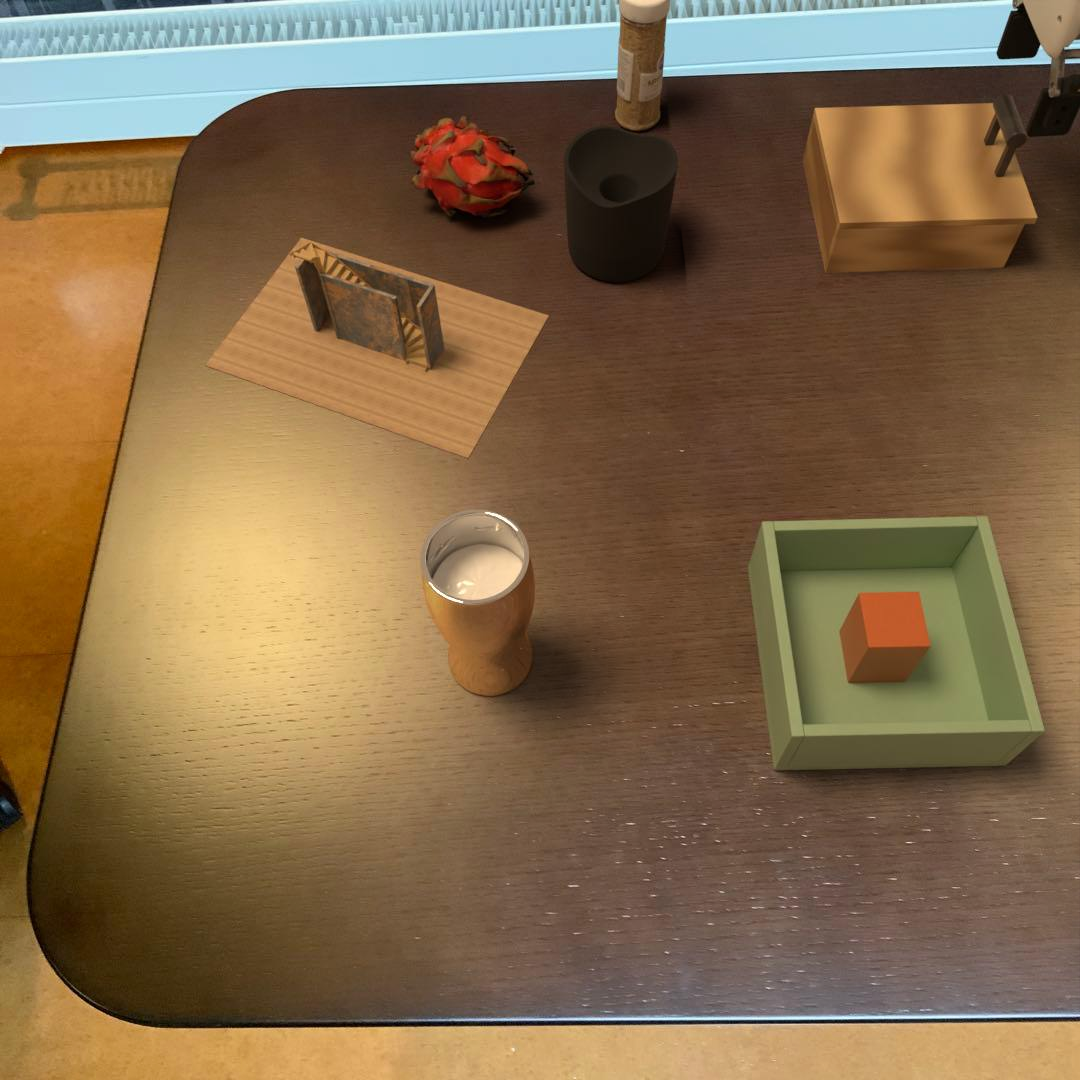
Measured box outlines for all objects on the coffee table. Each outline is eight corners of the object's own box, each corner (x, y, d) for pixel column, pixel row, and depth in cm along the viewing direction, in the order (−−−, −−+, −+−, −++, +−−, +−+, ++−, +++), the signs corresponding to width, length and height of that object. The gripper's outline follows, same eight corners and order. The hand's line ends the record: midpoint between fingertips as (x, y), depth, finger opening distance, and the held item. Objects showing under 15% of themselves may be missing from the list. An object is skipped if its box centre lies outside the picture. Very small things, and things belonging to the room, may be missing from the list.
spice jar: (659, 133, 103) (671, 4, 91) (613, 132, 103) (618, 3, 92) (660, 103, 105) (671, -27, 94) (614, 102, 106) (620, -28, 94)
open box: (956, 563, 78) (987, 515, 72) (1005, 765, 71) (1045, 731, 65) (747, 567, 79) (761, 520, 73) (773, 770, 71) (791, 736, 65)
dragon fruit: (412, 192, 102) (527, 233, 101) (383, 201, 94) (507, 245, 94) (434, 101, 98) (554, 143, 98) (405, 103, 91) (534, 149, 90)
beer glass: (427, 684, 74) (397, 586, 62) (464, 601, 78) (443, 492, 65) (518, 715, 73) (508, 622, 60) (552, 630, 76) (549, 524, 63)
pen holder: (631, 199, 99) (637, 108, 90) (688, 261, 94) (700, 172, 86) (545, 237, 96) (542, 148, 88) (599, 303, 92) (602, 215, 84)
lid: (994, 109, 95) (1016, 56, 90) (1034, 224, 88) (1060, 173, 83) (813, 114, 95) (825, 61, 91) (838, 229, 88) (853, 178, 83)
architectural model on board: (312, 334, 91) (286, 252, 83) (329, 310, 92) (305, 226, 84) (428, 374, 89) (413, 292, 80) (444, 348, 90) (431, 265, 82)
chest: (964, 161, 100) (985, 109, 95) (1000, 274, 93) (1025, 224, 88) (800, 166, 100) (813, 114, 95) (823, 279, 93) (838, 229, 88)
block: (895, 629, 75) (919, 591, 70) (905, 682, 73) (931, 646, 68) (838, 630, 75) (858, 592, 70) (847, 683, 73) (868, 647, 68)
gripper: (1221, -61, 66) (1108, 163, 80) (1136, -198, 75) (1049, 26, 89) (1099, -54, 66) (1008, 168, 81) (1029, -191, 75) (959, 31, 90)
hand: (1030, 94), depth 85 cm, fingers open, 9 cm apart
